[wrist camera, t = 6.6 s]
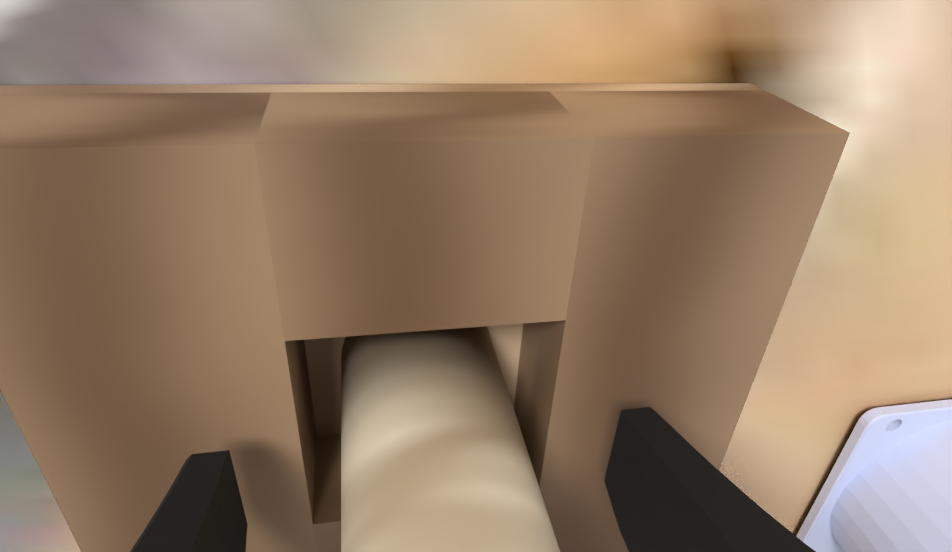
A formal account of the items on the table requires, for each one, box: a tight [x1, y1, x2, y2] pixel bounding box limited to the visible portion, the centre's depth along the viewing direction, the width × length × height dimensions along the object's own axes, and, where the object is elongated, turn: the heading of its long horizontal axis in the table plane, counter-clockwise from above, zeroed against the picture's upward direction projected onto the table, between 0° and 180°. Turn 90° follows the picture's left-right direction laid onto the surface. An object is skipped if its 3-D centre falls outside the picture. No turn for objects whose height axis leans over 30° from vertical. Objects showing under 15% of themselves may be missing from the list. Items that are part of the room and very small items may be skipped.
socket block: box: [0, 83, 850, 552], centre depth 13 cm, size 14×12×3 cm
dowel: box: [341, 326, 560, 552], centre depth 11 cm, size 4×4×8 cm
